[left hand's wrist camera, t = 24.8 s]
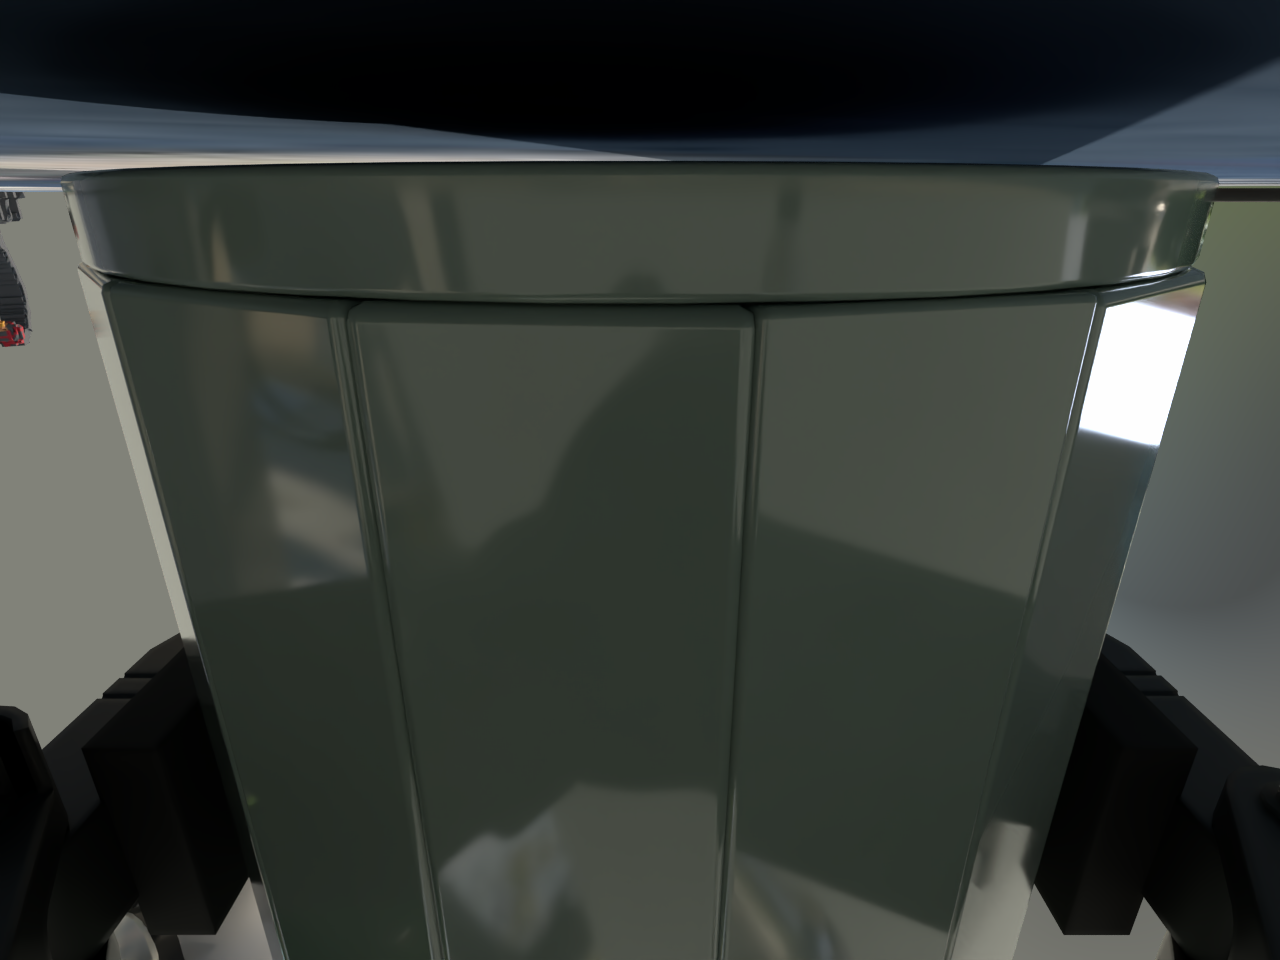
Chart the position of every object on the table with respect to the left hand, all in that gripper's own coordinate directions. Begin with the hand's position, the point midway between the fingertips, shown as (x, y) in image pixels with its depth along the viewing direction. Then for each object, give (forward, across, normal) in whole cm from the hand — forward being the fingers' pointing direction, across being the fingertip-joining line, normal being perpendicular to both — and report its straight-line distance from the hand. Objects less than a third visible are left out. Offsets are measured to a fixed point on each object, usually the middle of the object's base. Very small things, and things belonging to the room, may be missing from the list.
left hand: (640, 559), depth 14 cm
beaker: (-4, 0, -7) cm, 8 cm away
